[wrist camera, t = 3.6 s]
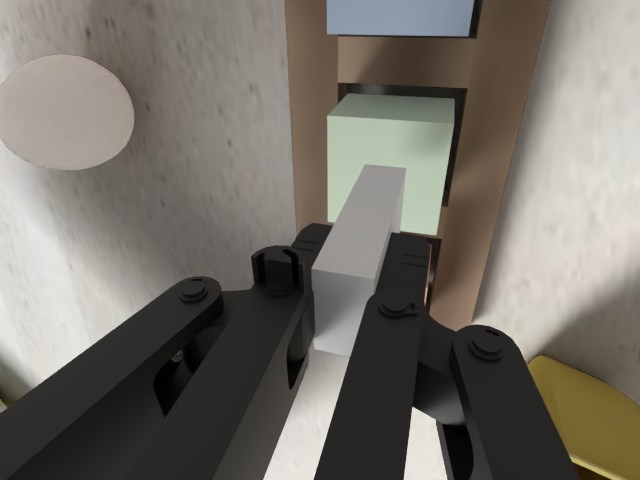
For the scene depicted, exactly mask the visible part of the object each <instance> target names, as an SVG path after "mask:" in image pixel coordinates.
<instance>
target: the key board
mask: <svg viewBox="0 0 640 480" xmlns="http://www.w3.org/2000/svg"><path fill="white" fill-rule="evenodd" d="M550 1H551V0H480V6H479V12H478V18H477V24H476V29H475V34H469V36H412V35H350V34H327V0H285V16H286V35H287V55H288V74H289V94H290V113H291V132H292V152H293V171H294V191H295V210H296V229H297V236H298V234H299V233H300V231H301V230H302V229H303V228H305V227H306V226H308V225H310V224H311V223H319V224H326V225H334V222H328V165H327V115H328V114H329V113H330V112H331V111H332V110H333V109H334V108H335V107H336V106H337V105H338V104H339V103H340V101H341V100H342V99H343V98H344V97H345V96H346V88H347V83H361V84H383V85H406V86H428V87H451V88H466V89H465V95H464V101H463V107H462V113H461V119H460V125H459V131H458V137H457V142H456V148H455V154H454V160H453V166H452V172H451V178H450V184H449V190H448V191H443V197H442V203H441V209H440V216H439V222H438V228H437V234H436V235H428V234H421V233H413V232H405V231H400V233H402V234H409V235H417V236H424V237H429V238H437V239H440V244H439V249H438V255H437V261H436V267H435V273H434V279H433V285H432V291H431V297H430V300H429V299H426V302H425V308H426V310H427V312H428V313H429V315H430V316H431V317H432V318H433V319H434V320H436V321H437V322H438V323H440V324H441V325H443V326H445V327H447V328H449V329H452V330H454V331H456V332H457V331H458V330H459V329H461V328H463V327H465V326H469V325H471V321H472V317H473V313H474V309H475V305H476V301H477V297H478V293H479V289H480V285H481V281H482V277H483V272H484V268H485V264H486V260H487V256H488V252H489V248H490V244H491V240H492V236H493V232H494V228H495V224H496V220H497V216H498V212H499V208H500V204H501V200H502V196H503V192H504V188H505V183H506V179H507V175H508V171H509V167H510V163H511V159H512V155H513V151H514V147H515V143H516V139H517V135H518V131H519V127H520V123H521V119H522V115H523V111H524V107H525V103H526V99H527V94H528V90H529V86H530V82H531V78H532V74H533V70H534V66H535V62H536V58H537V54H538V50H539V46H540V42H541V38H542V34H543V30H544V26H545V22H546V18H547V14H548V9H549V5H550Z"/></svg>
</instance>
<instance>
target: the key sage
mask: <svg viewBox="0 0 640 480" xmlns="http://www.w3.org/2000/svg"><path fill="white" fill-rule="evenodd" d="M454 110H455V99H453V98H433V97H413V96H393V95H373V94H353V93H348V94H347V95H346V96H345V97H344V98H343V99H342V100H341V101H340V103H339V104H338V105H337V106H336V107H335V108H334V109H333V110H332V111H331V112H330V113H329V114H328V115H327V165H328V222H334V223H335V222H336V220H337V218H338V216H339V214H340V212H341V210H342V208H343V206H344V204H345V202H346V200H347V198H348V196H349V194H350V192H351V190H352V188H353V186H354V184H355V182H356V181H357V179H358V177H359V175H360V173H361V171H362V169H363V167H364V165H365V164H369V165H379V166H390V167H400V168H406V177H405V187H404V197H403V206H402V216H401V225H400V231H405V232H413V233H421V234H428V235H436V234H437V228H438V222H439V216H440V209H441V203H442V197H443V191H444V185H445V178H446V172H447V166H448V160H449V153H450V147H451V141H452V135H453V129H454Z"/></svg>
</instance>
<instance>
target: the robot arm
mask: <svg viewBox="0 0 640 480" xmlns="http://www.w3.org/2000/svg"><path fill="white" fill-rule="evenodd" d="M405 177H406V168H400V167H390V166H379V165H369V164H365V165H364V167H363V169H362V171H361V173H360V175H359V177H358V179H357V181H356V182H355V184H354V186H353V188H352V190H351V192H350V194H349V196H348V198H347V200H346V202H345V204H344V206H343V208H342V210H341V212H340V214H339V216H338V218H337V220H336V222H335V223H334V225H326V224H319V223H311V224H310V225H308V226H306V227H305V228H303V229H302V230H301V231H300V233H299V234H298V236H297V237H296V239H295V241H294V242H293V244H292V245H291V247H289V246H277V245H276V246H270V247H266V248H263V249H261V250H259V251H257V252H256V253H255V254H253V255H252V256H251V260H252V267H253V275H254V283H255V284H254V285H253V287H252V288H251V289H249V290H242V291H224V292H222V290H221V287H220V285H219V282H217V281H216V280H214V279H213V278H209V277H204V276H202V277H192V278H188V279H185V280H182V281H180V282H179V283H177V284H175V285H174V286H172V287H171V288H169V289H168V290H167V291H165V292H164V293H163V294H161V295H160V296H159V297H157V298H156V299H155V300H153V301H152V302H150V303H149V304H148V305H146V306H145V307H144V308H142V309H141V310H140V311H138V312H137V313H136V314H134V315H133V316H131V317H130V318H129V319H127V320H126V321H125V322H123V323H122V324H121V325H119V326H118V327H117V328H115V329H114V330H112V331H111V332H110V333H108V334H107V335H106V336H104V337H103V338H102V339H100V340H99V341H98V342H96V343H95V344H93V345H92V346H91V347H89V348H88V349H87V350H85V351H84V352H83V353H81V354H80V355H79V356H77V357H76V358H74V359H73V360H72V361H70V362H69V363H68V364H66V365H65V366H64V367H62V368H61V369H60V370H58V371H57V372H56V373H54V374H53V375H51V376H50V377H49V378H47V379H46V380H45V381H43V382H42V383H41V384H39V385H38V386H37V387H35V388H34V389H32V390H31V391H30V392H28V393H27V394H26V395H24V396H23V397H22V398H20V399H19V400H18V401H16V402H15V403H13V404H12V405H11V406H9V407H8V408H7V409H6V408H4V407H3V406H2V405H0V480H263V478H264V476H265V473H266V471H267V468H268V465H269V463H270V460H271V458H272V455H273V453H274V450H275V448H276V445H277V442H278V440H279V437H280V435H281V432H282V430H283V427H284V425H285V422H286V420H287V417H288V414H289V412H290V409H291V407H292V404H293V402H294V399H295V397H296V394H297V391H298V389H299V386H300V384H301V381H302V379H303V376H304V374H305V371H306V369H307V366H308V360H309V351H308V349H309V346H310V344H311V341H312V339H313V337H314V349H315V350H320V351H325V352H330V353H334V354H339V355H344V356H348V357H350V360H349V363H348V366H347V370H346V373H345V376H344V380H343V383H342V386H341V390H340V393H339V396H338V400H337V403H336V407H335V410H334V413H333V417H332V420H331V423H330V427H329V430H328V433H327V437H326V440H325V443H324V447H323V450H322V454H321V457H320V460H319V464H318V467H317V470H316V474H315V477H314V480H403V479H404V471H405V463H406V454H407V446H408V438H409V430H410V421H411V413H412V406H413V407H414V408H416V409H418V410H420V411H422V412H423V413H425V414H427V415H429V416H431V417H432V418H434V419H436V426H437V430H438V435H439V440H440V445H441V450H442V455H443V459H444V464H445V469H446V474H447V479H448V480H581V479H580V477H579V475H578V473H577V471H576V469H575V467H574V465H573V462H572V460H571V458H570V456H569V454H568V452H567V450H566V448H565V445H564V443H563V441H562V439H561V437H560V435H559V433H558V430H557V428H556V426H555V424H554V422H553V420H552V418H551V416H550V413H549V411H548V409H547V407H546V405H545V403H544V401H543V399H542V396H541V394H540V392H539V390H538V388H537V386H536V384H535V381H534V379H533V377H532V375H531V373H530V371H529V369H528V367H527V364H526V362H525V360H524V358H523V356H522V354H521V352H520V350H519V348H518V346H517V345H516V344H515V342H514V341H513V339H511V338H510V337H509V336H507V335H506V334H505V333H503V332H502V331H500V330H497V329H495V328H492V327H490V326H484V325H469V326H465V327H463V328H461V329H459V330H458V331H457V332H456V331H454V330H452V329H449V328H447V327H445V326H443V325H441V324H440V323H438V322H437V321H436V320H434V319H433V318H432V317H431V316H430V315H429V313H428V312H427V310H426V308H425V301H424V300H425V292H426V283H427V275H428V266H429V258H430V250H431V246H430V245H429V243H428V241H427V239H426V238H425V237H424V236H417V235H409V234H402V233H400V225H401V216H402V206H403V197H404V187H405ZM179 351H181V353H180V354H179V355H178V356H174V355H175V354H176V353H178V352H179Z"/></svg>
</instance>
